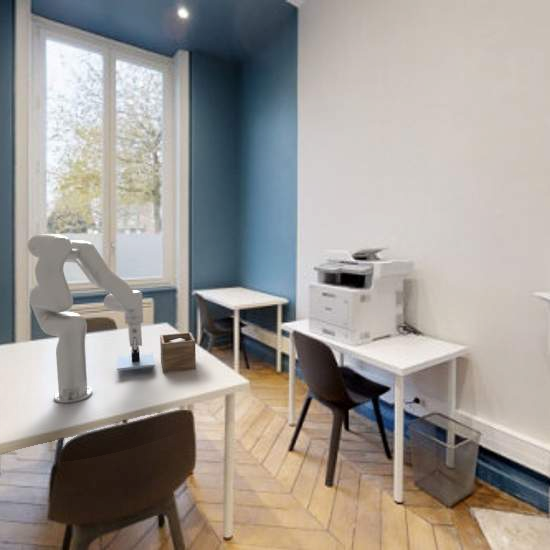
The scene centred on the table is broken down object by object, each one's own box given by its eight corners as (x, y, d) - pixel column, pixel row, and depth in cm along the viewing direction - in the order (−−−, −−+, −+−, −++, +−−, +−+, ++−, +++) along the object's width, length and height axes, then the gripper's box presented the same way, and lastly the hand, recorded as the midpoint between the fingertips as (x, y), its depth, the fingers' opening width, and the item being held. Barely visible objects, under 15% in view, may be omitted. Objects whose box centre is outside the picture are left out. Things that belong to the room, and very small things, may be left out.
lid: (154, 366, 167) (154, 351, 166) (116, 370, 162) (116, 355, 161) (153, 355, 181) (152, 341, 180) (118, 358, 176) (117, 345, 175)
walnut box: (195, 369, 173) (195, 340, 172) (163, 372, 169) (162, 343, 167) (191, 358, 187) (190, 332, 185) (160, 362, 182) (160, 335, 180)
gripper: (143, 323, 162) (145, 365, 165) (142, 314, 178) (144, 353, 180) (124, 324, 160) (126, 367, 162) (125, 315, 175) (126, 355, 177)
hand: (135, 359), depth 171 cm, fingers closed on lid, 3 cm apart
